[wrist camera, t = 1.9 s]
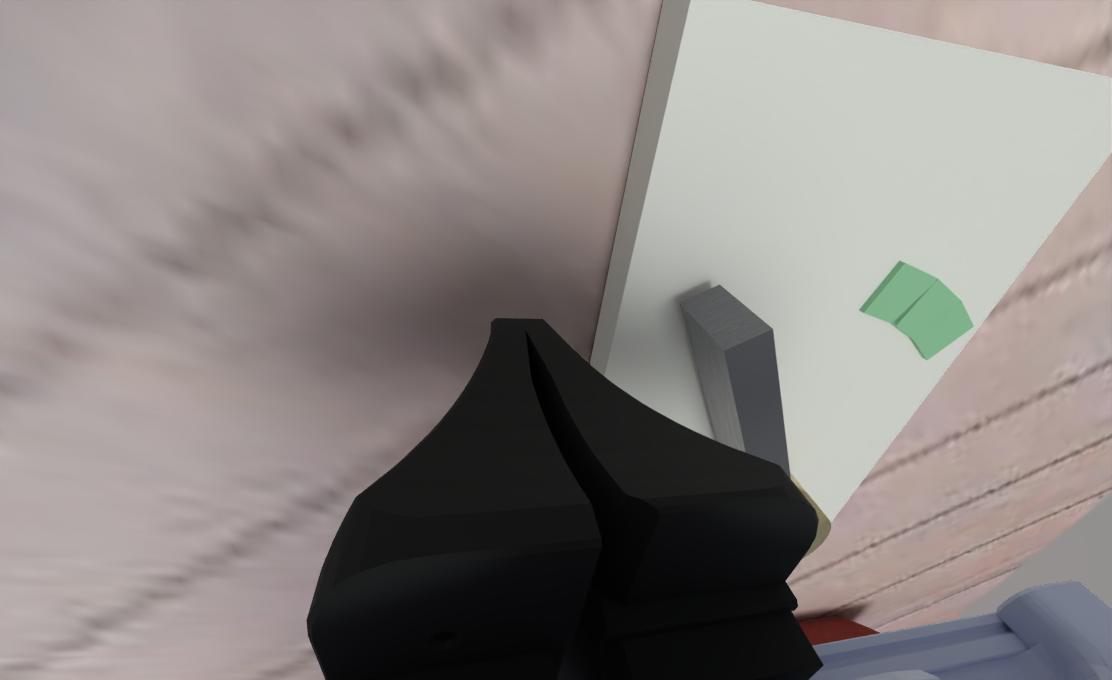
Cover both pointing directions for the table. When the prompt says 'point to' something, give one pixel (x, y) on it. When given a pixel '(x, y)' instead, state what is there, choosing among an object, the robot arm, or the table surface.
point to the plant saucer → (833, 629)
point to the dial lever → (741, 381)
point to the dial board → (834, 213)
